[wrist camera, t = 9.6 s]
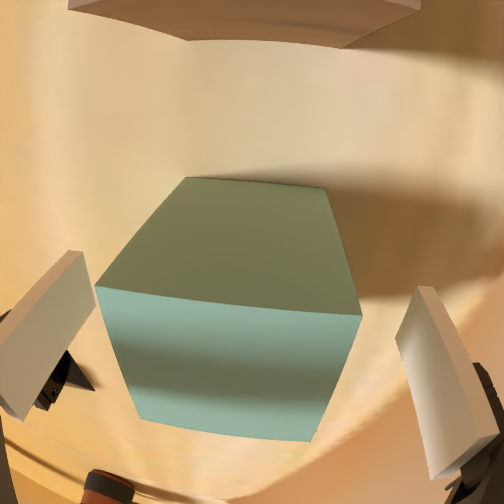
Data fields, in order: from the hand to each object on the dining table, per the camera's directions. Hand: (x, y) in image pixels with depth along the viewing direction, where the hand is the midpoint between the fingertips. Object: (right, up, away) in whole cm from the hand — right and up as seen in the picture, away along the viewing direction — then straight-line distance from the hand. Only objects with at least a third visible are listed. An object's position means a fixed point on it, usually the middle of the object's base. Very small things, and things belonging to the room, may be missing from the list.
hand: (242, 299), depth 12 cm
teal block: (0, +2, +3) cm, 4 cm away
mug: (-24, -39, +30) cm, 55 cm away
